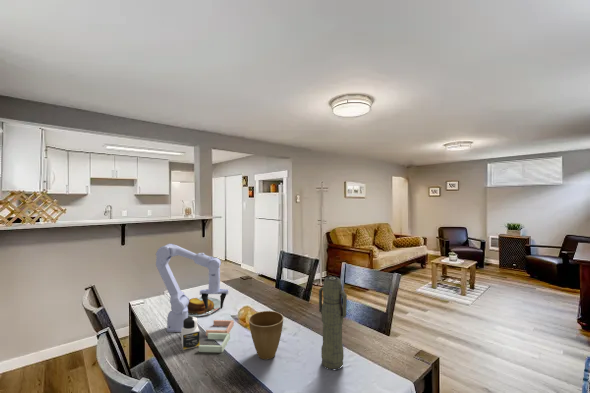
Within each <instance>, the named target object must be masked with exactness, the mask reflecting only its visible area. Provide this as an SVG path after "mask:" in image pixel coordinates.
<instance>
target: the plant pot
mask: <svg viewBox="0 0 590 393" xmlns="http://www.w3.org/2000/svg"><path fill="white" fill-rule="evenodd" d="M284 319H285V318H284V315H283V314H282V313H280V312H278V311H272V310H264V311H263V310H262V311H258V312H255V313H253V314H252V315H251V316H250V317H249V318H248V323H249V329H250V330H249V331H250V335H251V339H252V343H253V346H254V349H255V352H256V354H257V356H258V358H259V359H262V360H271V359H272V358H274V357H275V356H276V354H277V350H278V348H279V346H280V345H279V344H280V341H281V337H282V333H283V332H282V331H283V325H284Z"/></svg>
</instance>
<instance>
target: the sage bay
mask: <svg viewBox="0 0 590 393" xmlns="http://www.w3.org/2000/svg"><path fill="white" fill-rule="evenodd" d="M207 340H223V341H222V343H221V344H219V345H215V344H214V345H213V344H209V345H208V344H200V345H199V346H198V352H199V353H223V352H224V350H225V349H226V347H227V345H228V343H229V341H230V340H231V332H229V333H208V336H207Z"/></svg>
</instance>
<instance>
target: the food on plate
mask: <svg viewBox="0 0 590 393" xmlns="http://www.w3.org/2000/svg"><path fill="white" fill-rule="evenodd" d="M220 305H221V300H220V298H217V297H213V296H211V297H210V296H208V308H207V309H205V304H204V302H203V300H202V298H201V296H200V297H192V298H189V304H188V305H187V308H188V317H201V316H207V315H210V314H212V313H214V312H216V311H217V310H219V309H220ZM209 311H211V312H210V313H209ZM206 312H208V314H207V313H206ZM189 313H190V314H189Z"/></svg>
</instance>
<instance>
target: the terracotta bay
mask: <svg viewBox="0 0 590 393" xmlns="http://www.w3.org/2000/svg"><path fill="white" fill-rule="evenodd" d="M234 323H235V322H234V320H231V319H228V320H226V319H222V320H221V319H214V320H213V326H214V327H215V326H216V327H226V329H225V330H224V329H206V330H205V336H206V337H208V333H231V330H232V329H233V328H234Z"/></svg>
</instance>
